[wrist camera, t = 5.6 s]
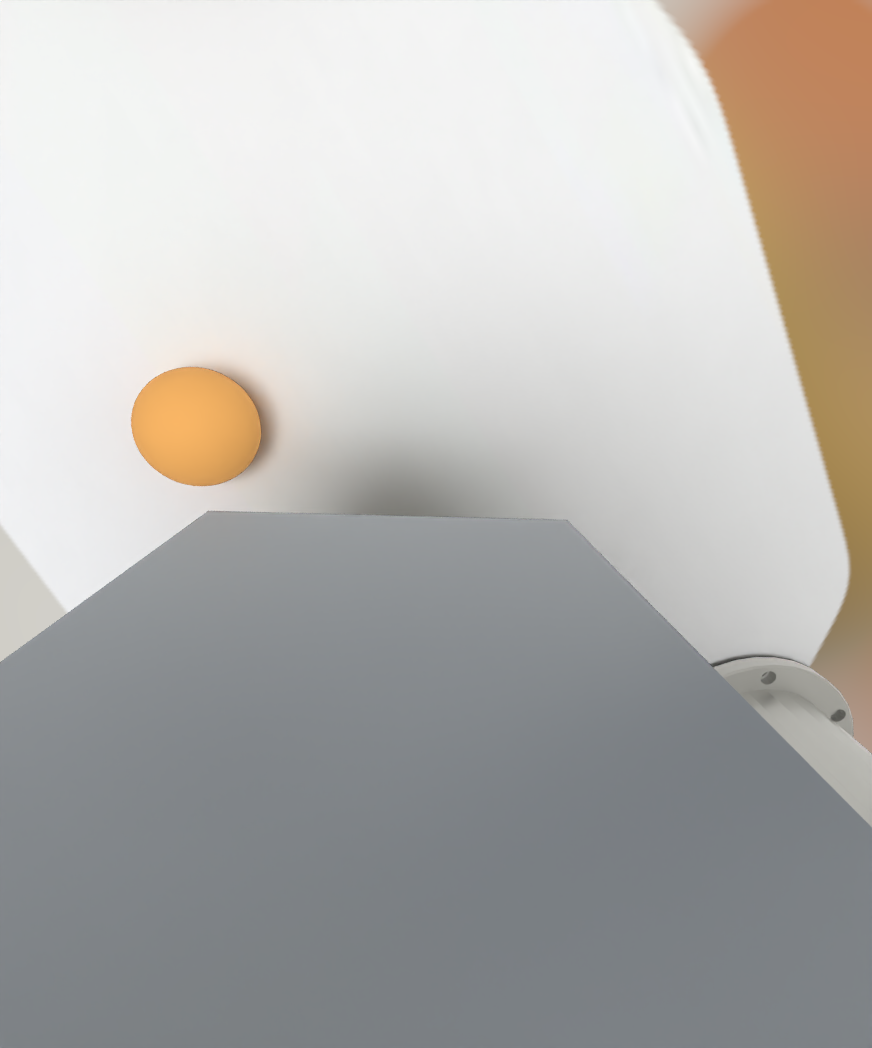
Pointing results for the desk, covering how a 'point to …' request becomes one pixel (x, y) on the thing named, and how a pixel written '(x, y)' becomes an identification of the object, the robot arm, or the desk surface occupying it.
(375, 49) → the desk surface
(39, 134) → the desk surface
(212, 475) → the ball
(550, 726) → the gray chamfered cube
